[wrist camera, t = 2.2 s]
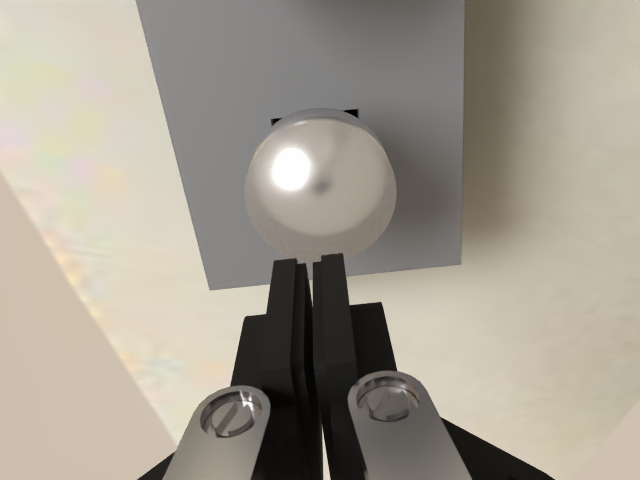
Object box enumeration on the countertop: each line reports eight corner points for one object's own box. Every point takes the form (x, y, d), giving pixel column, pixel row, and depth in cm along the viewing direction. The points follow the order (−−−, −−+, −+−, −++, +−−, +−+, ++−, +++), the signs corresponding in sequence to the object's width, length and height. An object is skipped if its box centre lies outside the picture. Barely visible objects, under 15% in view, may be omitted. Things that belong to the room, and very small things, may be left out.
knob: (371, 75, 22) (392, 112, 16) (378, 185, 25) (399, 255, 18) (253, 89, 23) (230, 131, 16) (272, 197, 25) (258, 270, 19)
